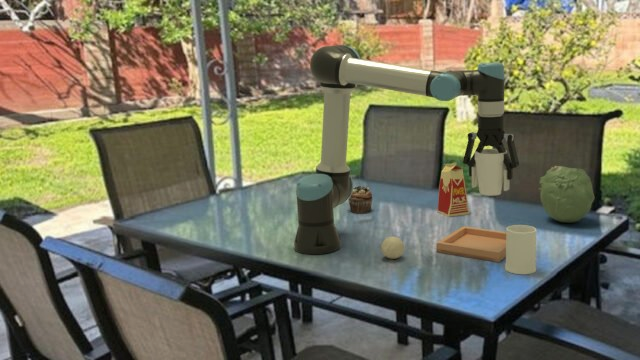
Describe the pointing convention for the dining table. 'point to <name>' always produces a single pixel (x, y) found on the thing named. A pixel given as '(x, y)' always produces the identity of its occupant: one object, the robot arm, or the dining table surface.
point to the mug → (520, 249)
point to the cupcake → (360, 200)
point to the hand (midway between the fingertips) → (490, 188)
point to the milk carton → (452, 192)
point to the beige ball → (392, 247)
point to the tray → (475, 244)
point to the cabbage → (566, 193)
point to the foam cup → (490, 171)
